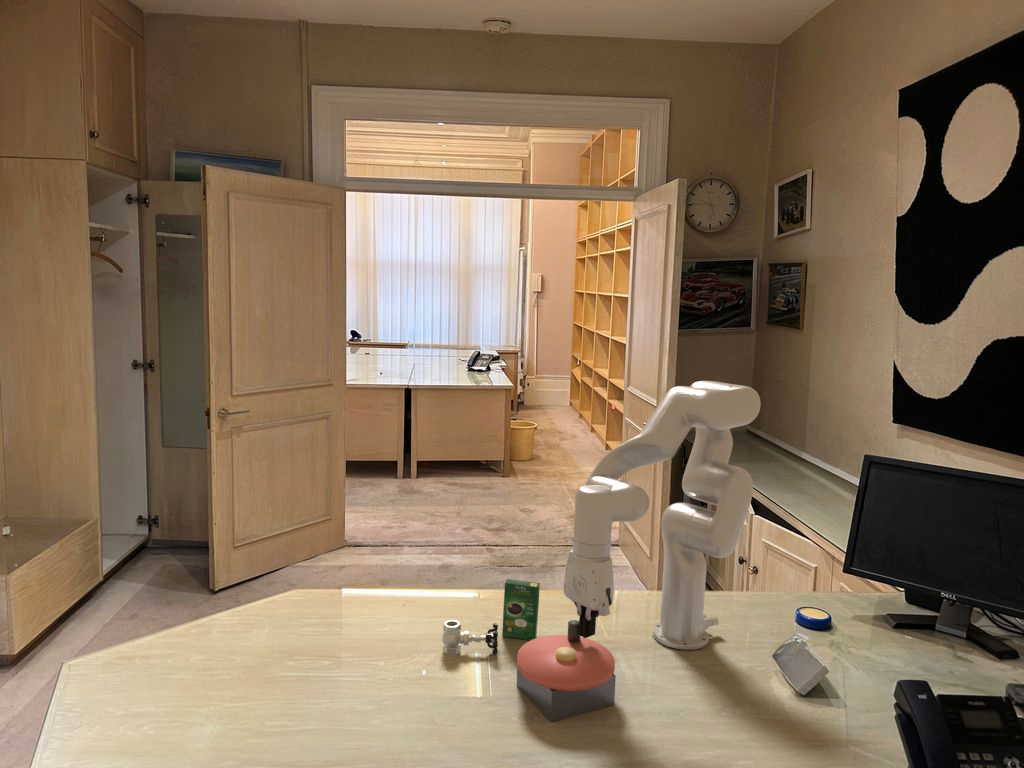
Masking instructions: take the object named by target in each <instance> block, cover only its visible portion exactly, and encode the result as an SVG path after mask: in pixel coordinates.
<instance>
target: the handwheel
mask: <svg viewBox="0 0 1024 768" xmlns="http://www.w3.org/2000/svg"><path fill="white" fill-rule="evenodd" d="M516 657H517V658H516V664H517V665H516V667H517V666H518V669H519V671H520V672H521V673H522V675H523V676H524V677H526V678H527V679H528V680H530V681H532V682H534V683H536V684H538V685H540V686H543V687H546V688H550V689H555V690H562V691H581V690H588V689H592V688H596V687H598V686H601V685H603V684H605V683H606V682H608V681H609V680H610V679H611V677H612V676H613V674H614V675H615V669H616V667H615V665H616V662H615V661H616V660H615V657H614V654H613V653H612V652H611V651H610V650H609V649H608V648H607V647H605V646H604V645H602V644H601V643H599V642H597V641H594V640H591V639H589V638H583V637H582V636H580V635H579V620H576V619H570V620H569V621H568V623H567V635H566V634H555V635H553V634H552V635H546V636H541V637H540V636H539V637H536V639H533V640H528V641H527V642H526V643H524V644H523V645H522V646H521V647H520V648H519V649H518V652H517V656H516Z"/></svg>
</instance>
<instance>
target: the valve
mask: <svg viewBox="0 0 1024 768" xmlns="http://www.w3.org/2000/svg"><path fill="white" fill-rule="evenodd" d="M498 626H499V624H498V623H497V622H493V623H492V627H493V628H490V629H489V630H487V633H485V635H482V634H481V633H475V634H472V633H470V631H469V630H464V631H463V632H461V631H462V624H461V623H460V621H458V620H453V619H451V620H447V621H445V622H444V623H443V624H442V628H443V629H442V630H443V633H442V638H441V639H442V640H441V641H442V644H443V645H442V652H443V654H445V655H446V656H448V657H450V656H451V657H452V656H453V657H454V656H457V655H459V654H460V653H461V647H462V646H461V644H462V645H463V646H469V643H472V642H474V643H481V642H484V641H485V644H486V645H487V647H488V648H489V649H492V650H491V651H492V654H493V655H496V654H498V647H499V644H498V642H499V641H498V637H499V631H498Z"/></svg>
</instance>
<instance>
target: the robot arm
mask: <svg viewBox="0 0 1024 768" xmlns="http://www.w3.org/2000/svg"><path fill="white" fill-rule="evenodd" d="M761 403H762V402H761V398H760V395H759V394H758V391H756V390H755V389H754V388H752V387H750V386H747V385H743V384H734V383H733V384H732V383H727V382H721V381H715V380H700V381H695V382H693V383H692V384H691V385H690V386H686V385H677V386H674V387H672V388H671V389H669V390H668V391H667V392H666V394H665V395H664V396H663V398H662V399H661V401H660V402H659V403H658V405H657V406H656V408H655V409H654V411H653V412H652V414H651V415H650V417H649V418H648V420H647V422H646V423H645V424H644V426H643V427H642V429H641V431H639V433H637V435H635V436H634V437H632V438H630V439H628V440H626V441H624V442H622V443H621V444H620V445H618V446H616V447H614V448H613V449H612V450H610V451H609V452H607V453H606V454H605V455H604V456H603V457H602V458H600V460H599V461H598V462H597V464H596V466H595V467H594V469H592V472H591V473H590V475H589V477H588V479H587V480H586V482H585V484H584V485H581V486H580V487H578V489H577V490H576V492H575V499H574V500H575V501H574V502H575V503H574V518H573V520H574V521H573V535H572V537H571V541H572V549H570V551H569V553H568V556H567V560H566V565H565V572H564V581H563V582H564V583H563V594H564V595H565V597H566V598H567V599H569V600H570V601H571V602H573V603H574V605H575V608H576V614H577V616H579V619H578V621H579V635H580V637H582V638H586V639H588V638H590V637H592V636H595V634H596V627H597V626H596V625H597V623H596V622H597V618H599V616H600V617H607V616H609V615H610V614H611V611H610V610H611V609H610V607H611V606H612V605H613V601H614V590H615V589H614V585H615V584H614V582H615V580H614V579H615V578H614V566H613V558H612V557H611V551H612V550H611V549H612V548H611V547H612V544H611V543H612V532H613V531H612V528H613V523H616V522H617V523H619V522H620V523H621V522H622V523H624V522H625V523H628V522H629V523H630V522H636V521H638V520H640V519H642V518H643V517H644V516H645V515H646V514H647V512H648V511H649V508H650V496H649V494H648V493H647V492H646V490H645V489H644V488H642V487H641V486H638V485H636V484H634V483H631V482H630V483H629V482H627V481H624V480H621V478H622V477H623V476H624V475H626V474H627V473H628V472H631V471H632V470H634V469H636V468H640V467H643V466H649V465H654V464H658V463H663V462H666V461H668V460H671V459H672V458H673V457H674V456H675V454H676V453H677V450H678V449H679V447H680V446H681V445H682V443H683V442H684V440H685V438H686V437H687V435H688V434H689V432H690V430H691V429H693V428H695V439H694V442H693V446H692V449H691V452H690V454H689V458H688V460H687V464H686V466H685V469H684V473H683V476H682V480H681V488H682V491H683V493H684V494H685V495H686V496H688V497H690V498H691V499H694V500H697V501H701V502H703V503H707V504H710V505H713V506H716V511H714V510H711V509H709V508H705V507H702V506H698V505H695V504H692V503H688V502H675V503H672V504H670V505H669V506H668V507H666V509H665V510H664V512H663V513H662V516H661V523H660V524H661V526H660V528H661V536H662V541H663V567H662V569H663V570H662V584H661V585H662V587H661V602H660V603H661V604H660V621H659V623H657V624H655V625H654V627H653V628H652V629H653V630H652V635H653V638H654V639H655V640H656V641H657V642H659V643H660V644H662V645H663V646H666V647H668V648H672V649H675V650H676V649H677V650H682V651H685V650H686V651H690V650H691V651H692V650H698V649H702V648H704V647H706V646H707V645H708V644H709V640H710V636H709V633H708V632H707V631H706V630H708V629H709V627H713V626H714V627H715V626H718V625H719V618H718V617H717V616H712V617H708V618H707V615H706V614H704V609H705V592H706V579H707V578H706V577H707V562H706V558H705V556H704V554H705V555H708V556H710V557H712V558H717V559H724V558H727V557H729V556H730V555H731V554H732V553H733V552H734V551H735V550H736V547H737V546H738V543H739V540H740V538H741V534H742V530H743V529H744V528H743V527H744V525H745V521H746V518H747V515H748V512H749V509H750V505H751V503H752V498H753V492H754V484H753V482H754V481H753V478H752V475H750V473H749V472H748V471H747V470H746V469H744V468H742V467H740V466H735V465H731V464H729V461H730V457H731V454H732V451H733V447H734V441H733V440H734V439H733V436H732V432H731V429H733V428H739V427H742V426H746V425H748V424H751V423H752V422H753V421H754V420H755V419H756V418H757V417H758V415H759V413H760V410H761Z"/></svg>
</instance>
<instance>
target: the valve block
mask: <svg viewBox="0 0 1024 768" xmlns="http://www.w3.org/2000/svg"><path fill="white" fill-rule="evenodd" d="M616 677H617V676H616V674H615V673H614V674H613V676H612V677H611V679H610V680H609V681H608V682H606V683H605V684H603V685H601V686H598V687H596V688H592V689H588V690H581V691H562V690H555V689H550V688H546V687H543V686H540V685H538V684H536V683H534V682H532V681H530V680H528V679H527V678H526V677H524V676H523V675H522V673H521V672H520V671H519V669H518V666H517V665H516V686H517V687H518V688H519V690H521V691H522V692H523V694H524V695H525V696H527V698H528V699H529V700H530V701H531V703H533V704H534V706H536V708H537V709H538V710H539V712H541V714H543V715H544V717H546V718H547V720H548V721H549V722H550V723H553V722H557V721H560V720H564V719H567V718H571V717H575V716H576V717H577V716H579V715H584V714H586V713H590V712H593V711H596V710H600V709H604V708H608V707H612V706H615V699H616V697H615V696H616Z"/></svg>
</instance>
